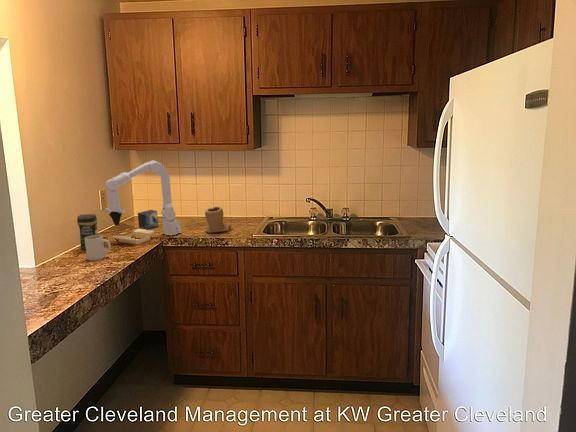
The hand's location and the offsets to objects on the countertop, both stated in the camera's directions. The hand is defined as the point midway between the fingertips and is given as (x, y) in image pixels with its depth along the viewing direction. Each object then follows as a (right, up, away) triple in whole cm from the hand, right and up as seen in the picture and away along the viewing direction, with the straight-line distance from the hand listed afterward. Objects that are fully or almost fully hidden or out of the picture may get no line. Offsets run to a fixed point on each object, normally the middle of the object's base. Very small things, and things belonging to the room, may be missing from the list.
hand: (117, 225), depth 255 cm
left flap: (+5, -6, -4) cm, 9 cm away
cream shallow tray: (+9, -9, +3) cm, 13 cm away
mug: (+1, -16, -25) cm, 30 cm away
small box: (+8, -3, +32) cm, 33 cm away
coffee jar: (-12, -12, -6) cm, 18 cm away
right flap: (+12, -4, +8) cm, 15 cm away
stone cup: (+54, -5, +16) cm, 57 cm away
